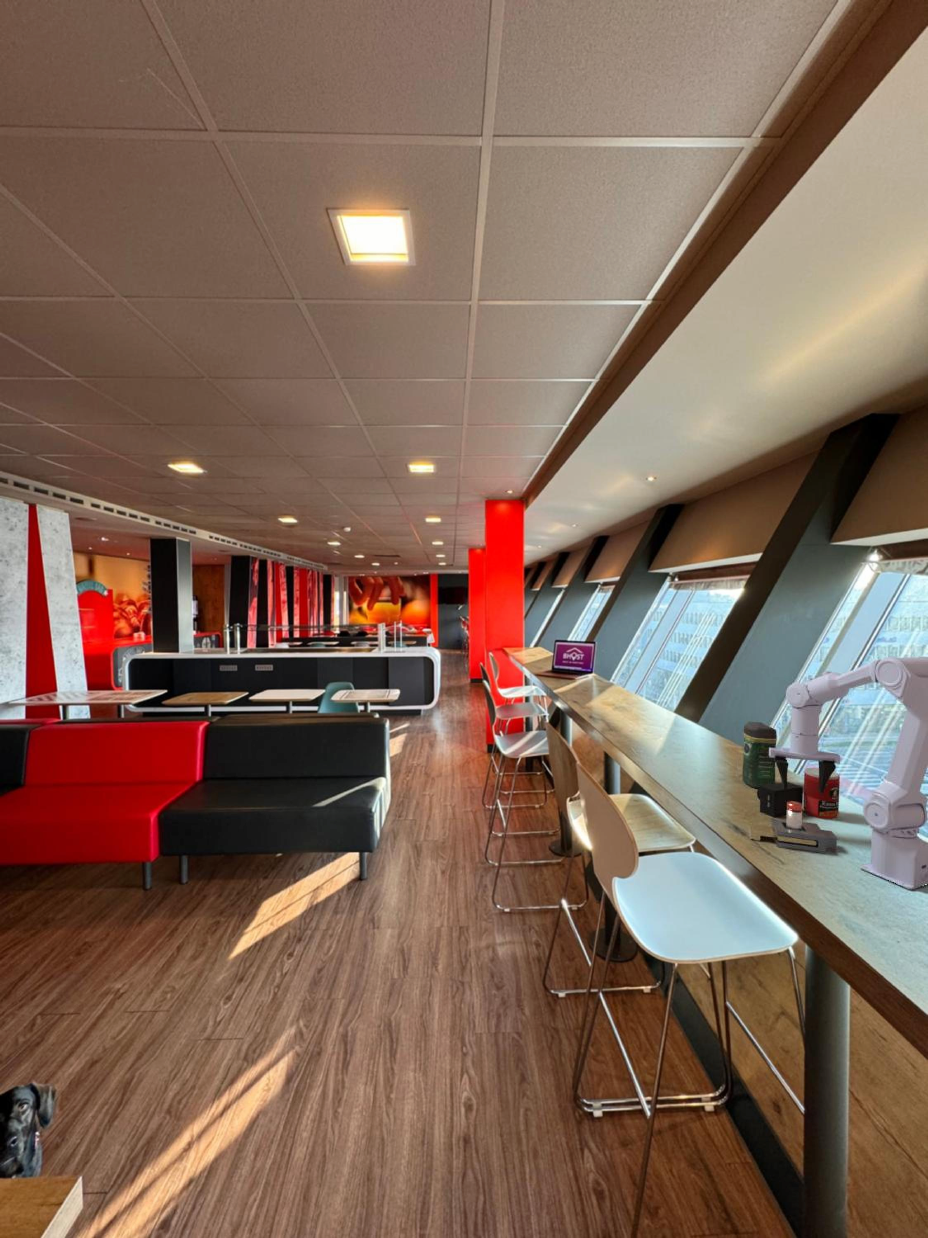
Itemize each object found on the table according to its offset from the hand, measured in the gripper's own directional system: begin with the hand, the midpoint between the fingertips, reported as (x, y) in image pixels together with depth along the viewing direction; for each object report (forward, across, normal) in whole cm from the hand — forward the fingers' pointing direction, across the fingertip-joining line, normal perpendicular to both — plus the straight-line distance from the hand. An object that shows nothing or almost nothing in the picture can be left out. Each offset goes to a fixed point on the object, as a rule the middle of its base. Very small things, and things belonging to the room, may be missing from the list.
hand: (802, 789), depth 135 cm
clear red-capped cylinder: (+10, +3, +8) cm, 13 cm away
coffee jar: (+10, +4, -35) cm, 37 cm away
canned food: (+10, -7, -14) cm, 19 cm away
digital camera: (+10, +2, -12) cm, 16 cm away
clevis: (+10, +3, +8) cm, 13 cm away
